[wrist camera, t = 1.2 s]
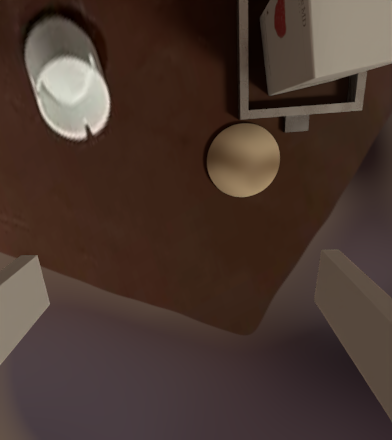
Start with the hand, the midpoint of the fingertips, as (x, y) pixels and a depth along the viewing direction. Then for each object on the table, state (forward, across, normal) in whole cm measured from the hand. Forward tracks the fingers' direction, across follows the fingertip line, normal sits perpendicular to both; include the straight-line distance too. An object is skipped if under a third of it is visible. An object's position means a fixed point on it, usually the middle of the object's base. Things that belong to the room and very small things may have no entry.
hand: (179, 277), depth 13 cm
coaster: (+27, +7, +2) cm, 28 cm away
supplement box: (+27, +13, +15) cm, 34 cm away
